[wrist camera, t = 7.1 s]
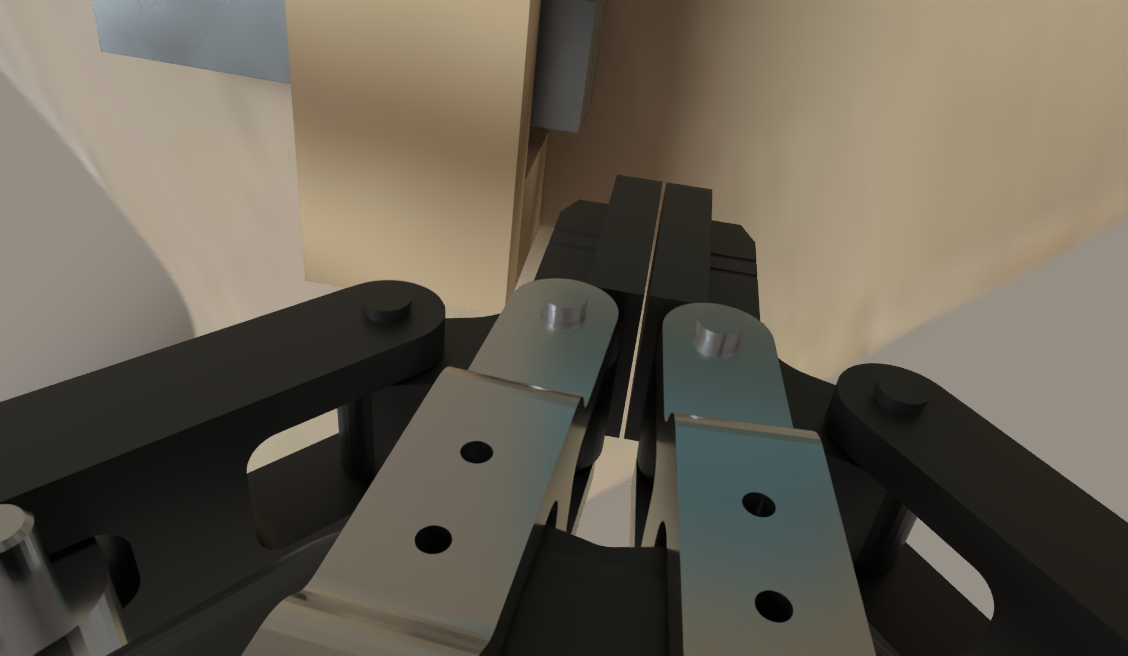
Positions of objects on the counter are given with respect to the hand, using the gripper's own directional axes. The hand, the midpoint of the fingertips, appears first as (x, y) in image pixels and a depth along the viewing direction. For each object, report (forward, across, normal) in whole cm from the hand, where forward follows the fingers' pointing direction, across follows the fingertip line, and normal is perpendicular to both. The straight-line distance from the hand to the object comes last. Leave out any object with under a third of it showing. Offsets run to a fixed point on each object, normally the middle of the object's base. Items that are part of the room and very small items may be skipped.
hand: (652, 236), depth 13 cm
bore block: (+10, +6, 0) cm, 11 cm away
